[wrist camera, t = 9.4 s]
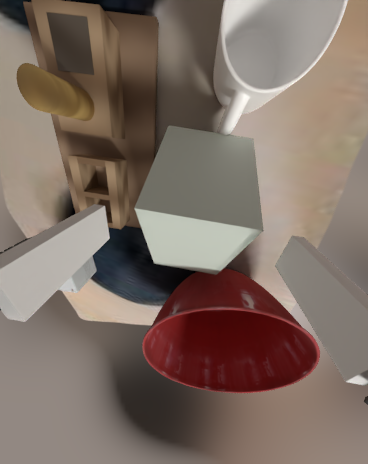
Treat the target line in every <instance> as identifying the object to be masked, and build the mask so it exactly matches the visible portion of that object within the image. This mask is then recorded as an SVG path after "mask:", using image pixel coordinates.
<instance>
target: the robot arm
mask: <svg viewBox="0 0 368 464" xmlns="http://www.w3.org/2000/svg"><path fill="white" fill-rule="evenodd" d="M109 239H110V237H109V231H108V224H107V217H106V210H105V206H103V205H97V204H94V205H92V206H90V207H88V208H86V209H84V210H82V211H81V212H79V213H77V214H75V215H73V216H71V217H69V218H67V219H66V220H64V221H62V222H60V223H58V224H56V225H54V226H52V227H50V228H49V229H47V230H45V231H43V232H41V233H39V234H37V235H35V236H34V237H31V238H28V239H25V240H23V241H21V242H19V243H17V244H16V245H14V247H10V248H8V249H6V250H4V252H0V310H1V311H2V312H3V313H4V315H5V316H6V317H7V318H8V319H12V320H17V321H23V322H25V321H26V320H28V319H29V318H30V317H31V316H32V315H33V314H34V313H35V312H36V311H37V310H38V309H39V308H40V307H41V306H42V305H43V304H44V303H45V302H46V301H47V300H48V299H49V298H50V297H51V296H52V295H53V294H54V293H55V292H56V291H57V290H58V289H59V288H60V287H61V286H62V285H63V284H64V283H65V282H66V281H67V280H68V279H69V278H70V277H71V276H72V275H73V274H74V273H75V272H76V271H77V270H78V269H79V268H80V267H81V266H82V265H83V264H84V263H85V262H86V261H87V260H88V259H89V258H90V257H91V256H92V255H93V254H94V253H95V252H96V251H97V250H98V249H99V248H100V247H101V246H102V245H104V244H105V243H106V242H107V241H108V240H109ZM275 267H276V268H277V270H278V271H279V273H280V275H281V276H282V278H283V280H284V281H285V283H286V285H287V286H288V288H289V290H290V291H291V293H292V295H293V296H294V298H295V299H296V301H297V303H298V304H299V306H300V308H301V309H302V311H303V313H304V314H305V316H306V317H307V319H308V321H309V322H310V324H311V326H312V328H313V329H314V331H315V332H316V334H317V336H318V337H319V339H320V341H321V342H322V344H323V346H324V347H325V349H326V350H327V352H328V353H329V355H330V357H331V359H332V360H333V362H334V364H335V365H336V367H337V368H338V370H339V372H340V373H341V375H342V377H343V379H344V380H345V382H349V383H355V384H360V385H368V295H367V294H366V293H365V292H364V291H363V290H362V289H360V288H359V287H358V286H357V285H356V284H355V283H354V282H353V281H352V280H350V279H349V278H348V277H347V276H346V275H345V274H344V273H343V272H342V271H340V270H339V269H338V268H337V267H336V266H335V265H334V264H333V263H332V262H330V261H329V260H328V259H327V258H326V257H325V256H324V255H323V254H322V253H320V252H319V251H318V250H317V249H316V248H315V247H314V246H313V245H312V244H310V243H309V242H308V241H307V240H306V239H305V238H304V237H298V236H292V237H291V239H290V240H289V242H288V244H287V246H286V247H285V249H284V251H283V253H282V254H281V256H280V258H279V260H278V261H277V263H276V265H275ZM364 402H365V403H366V404H368V396H367V397H365V400H364Z"/></svg>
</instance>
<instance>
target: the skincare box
mask: <svg viewBox="0 0 368 464" xmlns="http://www.w3.org/2000/svg"><path fill="white" fill-rule="evenodd" d="M95 272H96V267H95V263H94V259H93V256H91V257H90V258H89V259H88V260H87V261H86V262H85V263H84V264H83V265H82V266H81V267H80V268H79V269H78V270H77V271H76V272H75V273H74V274H73V275H72V276H71V277H70V278H69V279H68V280H67V281H66V282H65V283H64V284H63V285H62V286H61V287H60V288H59V289H58V290H62V291H68V292H75V293H78V291H79V290H80V289H81V288H82V287H83V286H84V285H85V283H86V282H87V281H88V280H89V279H90V278H91V277H92V276H93V274H94V273H95Z"/></svg>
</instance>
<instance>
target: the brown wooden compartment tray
mask: <svg viewBox="0 0 368 464" xmlns="http://www.w3.org/2000/svg"><path fill="white" fill-rule="evenodd" d="M31 1H32V2H23V4H24V8H25V12H26V16H27V20H28V24H29V28H30V32H31V36H32V40H33V44H34V48H35V52H36V56H37V60H38V64H39V67H37V66H35V65H33V64H29V63H24V64H22V65H21V66H20V67H19V68H18V71H17V83H18V87H19V90H20V92H21V94H22V96H23V97H24V99H25V100H26V101H27V102H28V104H30V105H31V106H32V107H33V108H35V109H37V110H39V111H43V112H48V113H51V116H52V120H53V124H54V128H55V132H56V136H57V140H58V144H59V148H60V152H61V156H62V160H63V164H64V168H65V172H66V176H67V180H68V184H69V188H70V192H71V196H72V200H73V204H74V208H75V212H76V214H77V213H79V212H81V211H82V210H84V209H86V208H88V207H90V206H92V205H94V204H97V205H103V206H105V210H106V217H107V224H108V227H111V228H117V229H121V228H122V227H123V226H124V225H125V226H131V227H137V228H141V225H140V222H139V220H138V217H137V214H136V211H135V209H134V208H135V205H136V203H137V201H138V198H139V196H140V193H141V191H142V189H143V186H144V184H145V181H146V179H147V176H148V174H149V172H150V169H151V167H152V164H153V162H154V160H155V141H156V103H157V64H158V26H159V23H158V20H157V17H152V16H144V15H135V14H126V13H118V12H109V11H104V10H103V9H102V8H101V6H100V5H97V4H88V3H80V2H71V1H62V0H31Z"/></svg>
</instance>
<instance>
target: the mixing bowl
mask: <svg viewBox="0 0 368 464" xmlns="http://www.w3.org/2000/svg"><path fill="white" fill-rule="evenodd" d="M142 346H143V347H142V349H143V353H144V356H145V358H146V360H147V361H148V363H149V364H150V365H151V366H152V367H153V368H154V369H155V370H156V371H158V372H159V373H161V374H162V375H164V376H165V377H167V378H169V379H171V380H174V381H176V382H179V383H181V384H184V385H187V386H191V387H194V388H199V389H203V390H209V391H216V392H227V393H253V392H263V391H269V390H274V389H278V388H282V387H286V386H288V385H291V384H294V383H296V382H298V381H300V380H302V379H303V378H305V377H306V376H308V375H309V374H310V373H311V372H312V371H313V370H314V369H315V367H316V366H317V364H318V362H319V358H320V350H319V347H318V344H317V342H316V341H315V339H314V338H313V336H312V335H311V334H310V333H309V332H308V331H306V330H305V329H304V328H302V327H301V325H300V324H299V323H298V322H297V321H296V320H295V319H294V318H293V316H292V315H291V314H290V313H289V312H288V311H287V310H286V309H285V308H284V307H283V306H282V305H281V304H280V303H279V302H278V301H277V300H276V299H275V298H274V297H273V296H272V295H271V294H270V293H269V292H268V291H267V290H265V289H264V288H263V287H262V286H260V285H259V284H258V283H256V282H255V281H254V280H252V279H251V278H249V277H247V276H246V275H244V274H242V273H239V272H237V271H234V270H230V269H225V268H223V269H222V270H221V271H220V272H219V273H218V274H217V275H215V274H209V273H204V272H196V273H194V274H192V275H190V276H189V277H187V278H186V279H185V280H184V281H183V282H182V283H181V284H180V285H179V286H178V287H177V288H176V289H175V290H174V291H173V293H172V294H171V295H170V297H169V298H168V299H167V301H166V302H165V304H164V305H163V307H162V308H161V310H160V312H159V313H158V315H157V317H156V319H155V321H154V323H153V324H152V326H151V328H150V329H149V330H148V331H147V333H146V335H145V337H144V340H143V344H142Z"/></svg>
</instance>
